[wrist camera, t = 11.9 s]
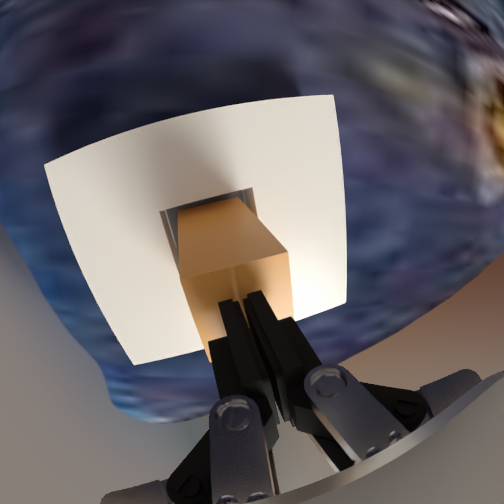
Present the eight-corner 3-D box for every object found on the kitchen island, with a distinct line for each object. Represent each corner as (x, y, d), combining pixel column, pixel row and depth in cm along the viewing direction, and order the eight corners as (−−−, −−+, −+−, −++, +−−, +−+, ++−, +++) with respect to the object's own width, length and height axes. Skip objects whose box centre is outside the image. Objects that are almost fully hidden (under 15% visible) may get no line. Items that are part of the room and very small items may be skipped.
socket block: (69, 157, 16) (44, 164, 12) (303, 100, 19) (333, 94, 15) (137, 330, 23) (134, 365, 19) (322, 277, 26) (346, 302, 22)
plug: (177, 206, 18) (179, 280, 9) (234, 192, 19) (288, 251, 10) (192, 263, 20) (209, 362, 11) (244, 249, 21) (296, 337, 12)
